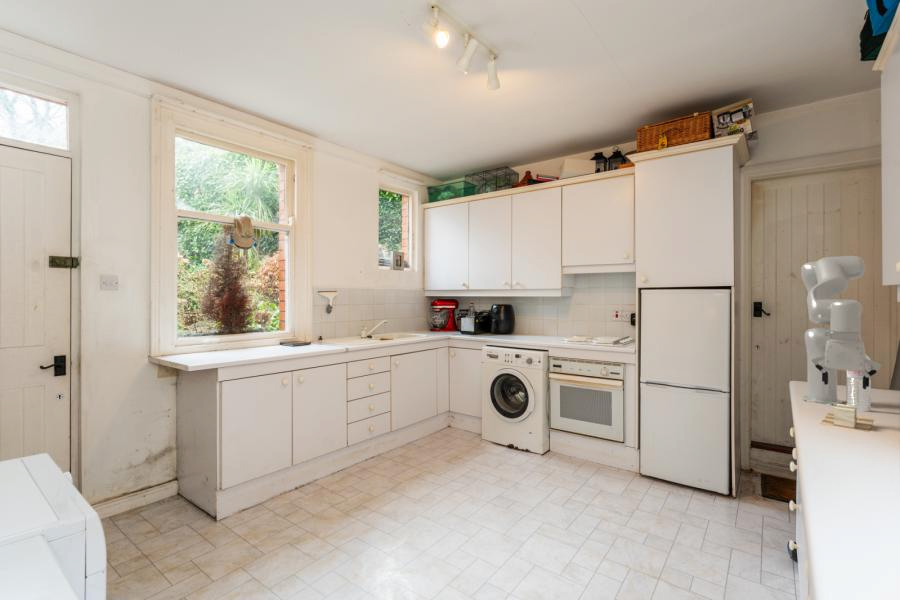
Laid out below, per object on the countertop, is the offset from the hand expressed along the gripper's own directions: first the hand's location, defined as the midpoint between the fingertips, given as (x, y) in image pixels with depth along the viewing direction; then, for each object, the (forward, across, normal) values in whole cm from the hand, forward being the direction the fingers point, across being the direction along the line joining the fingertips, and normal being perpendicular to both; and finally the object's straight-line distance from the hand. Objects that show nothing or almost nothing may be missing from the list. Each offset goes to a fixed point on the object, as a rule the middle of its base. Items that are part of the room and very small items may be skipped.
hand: (844, 386), depth 144 cm
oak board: (+14, 0, +5) cm, 15 cm away
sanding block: (+13, 0, -1) cm, 13 cm away
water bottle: (+15, +1, +30) cm, 33 cm away
